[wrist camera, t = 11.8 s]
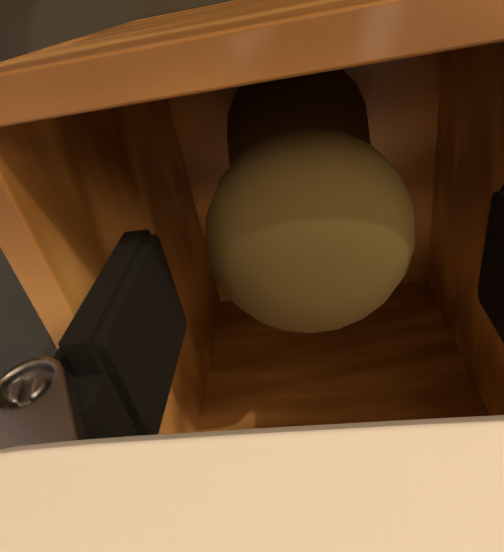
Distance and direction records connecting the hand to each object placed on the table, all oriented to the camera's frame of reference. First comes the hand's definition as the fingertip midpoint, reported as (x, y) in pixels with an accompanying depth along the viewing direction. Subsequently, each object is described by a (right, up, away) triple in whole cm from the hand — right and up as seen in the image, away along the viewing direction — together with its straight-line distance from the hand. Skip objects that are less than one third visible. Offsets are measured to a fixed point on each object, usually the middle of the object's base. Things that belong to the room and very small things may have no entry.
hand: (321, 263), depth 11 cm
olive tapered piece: (0, +6, +8) cm, 10 cm away
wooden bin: (+1, +5, +10) cm, 11 cm away
